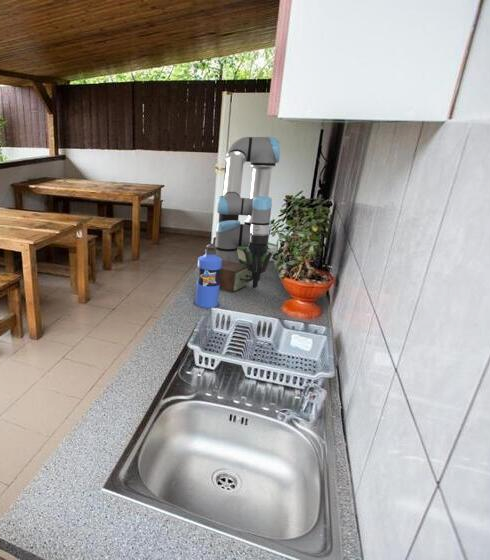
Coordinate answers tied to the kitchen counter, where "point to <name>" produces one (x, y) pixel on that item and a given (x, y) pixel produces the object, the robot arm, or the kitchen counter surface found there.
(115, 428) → the kitchen counter surface
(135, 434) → the kitchen counter surface
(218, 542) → the kitchen counter surface
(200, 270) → the water bottle
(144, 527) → the kitchen counter surface
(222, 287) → the cabinet
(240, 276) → the drawer
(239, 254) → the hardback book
